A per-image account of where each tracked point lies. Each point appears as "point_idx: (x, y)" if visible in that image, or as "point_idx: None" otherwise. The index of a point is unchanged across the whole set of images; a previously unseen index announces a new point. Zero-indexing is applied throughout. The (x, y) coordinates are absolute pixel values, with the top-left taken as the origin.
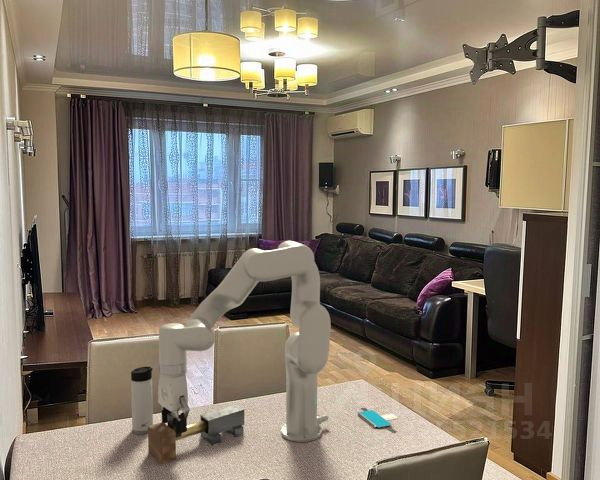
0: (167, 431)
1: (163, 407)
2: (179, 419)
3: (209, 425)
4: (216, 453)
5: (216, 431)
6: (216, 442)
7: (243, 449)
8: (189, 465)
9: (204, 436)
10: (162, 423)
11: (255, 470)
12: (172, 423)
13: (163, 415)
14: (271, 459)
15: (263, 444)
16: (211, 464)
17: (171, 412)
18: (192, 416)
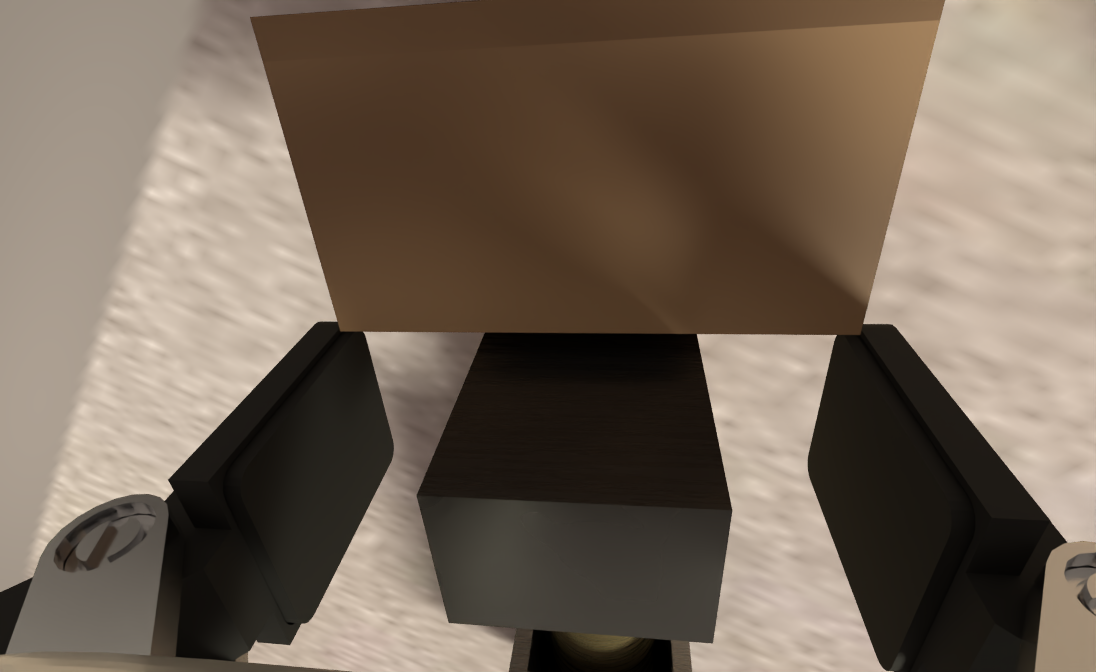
0: (418, 236)
1: (1036, 631)
2: (66, 546)
3: (516, 635)
4: (393, 459)
5: None
6: None
7: (364, 575)
8: (300, 235)
9: None
10: (807, 308)
11: (99, 501)
12: (486, 408)
13: (904, 437)
14: None
15: (369, 651)
16: (253, 366)
17: (859, 587)
18: None
